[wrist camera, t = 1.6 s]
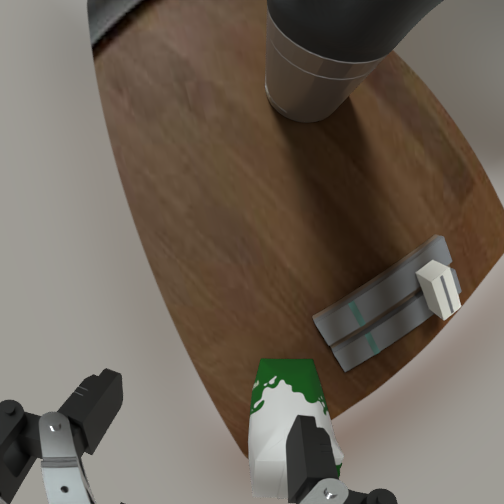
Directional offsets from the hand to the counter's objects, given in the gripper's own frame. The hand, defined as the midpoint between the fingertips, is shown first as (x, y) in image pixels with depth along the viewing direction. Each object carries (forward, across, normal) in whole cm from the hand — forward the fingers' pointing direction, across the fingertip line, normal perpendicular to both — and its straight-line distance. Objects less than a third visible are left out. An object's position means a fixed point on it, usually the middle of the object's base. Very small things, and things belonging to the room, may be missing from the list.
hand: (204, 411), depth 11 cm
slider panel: (+24, -20, +1) cm, 31 cm away
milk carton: (+24, -9, +15) cm, 30 cm away
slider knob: (+23, -24, -3) cm, 33 cm away
